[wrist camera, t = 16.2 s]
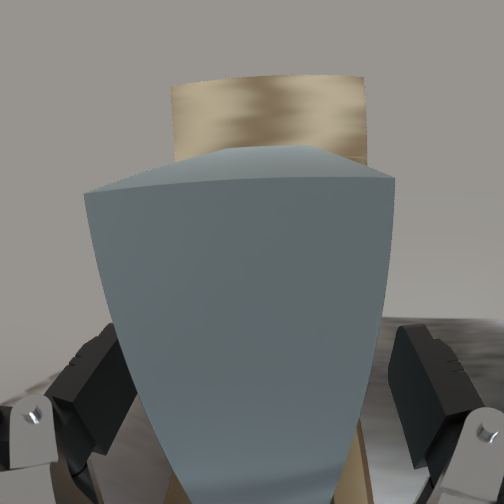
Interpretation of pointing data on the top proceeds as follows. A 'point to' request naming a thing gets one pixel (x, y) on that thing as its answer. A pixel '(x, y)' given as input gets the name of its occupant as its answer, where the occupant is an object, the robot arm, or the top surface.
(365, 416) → the top surface
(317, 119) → the hinge base
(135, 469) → the top surface
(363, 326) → the grey flat block
